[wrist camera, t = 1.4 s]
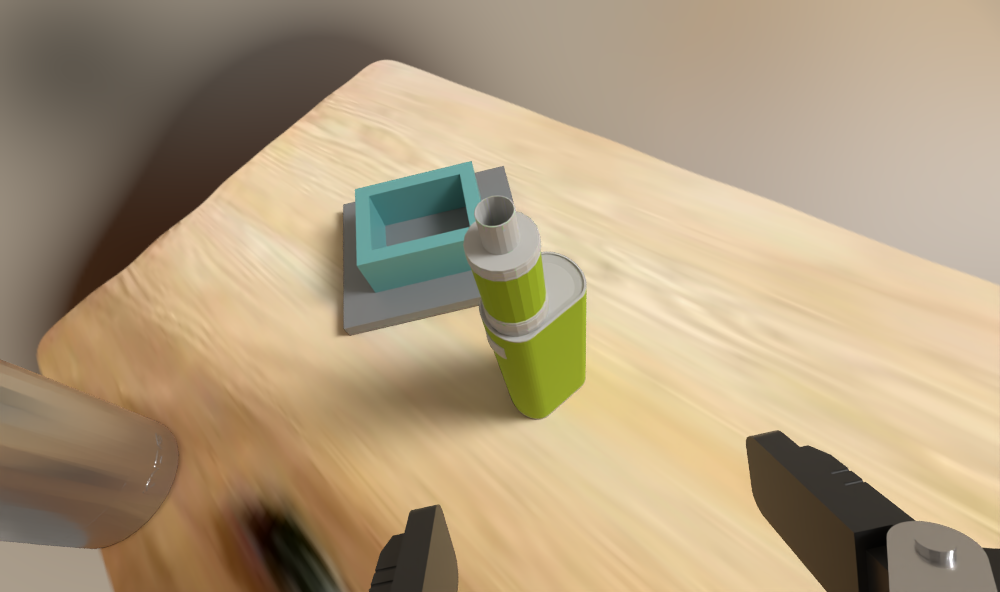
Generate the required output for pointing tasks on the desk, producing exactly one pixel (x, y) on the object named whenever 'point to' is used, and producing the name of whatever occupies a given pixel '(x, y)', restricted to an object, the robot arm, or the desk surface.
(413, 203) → the dock
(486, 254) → the vape
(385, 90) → the desk surface
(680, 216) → the desk surface
